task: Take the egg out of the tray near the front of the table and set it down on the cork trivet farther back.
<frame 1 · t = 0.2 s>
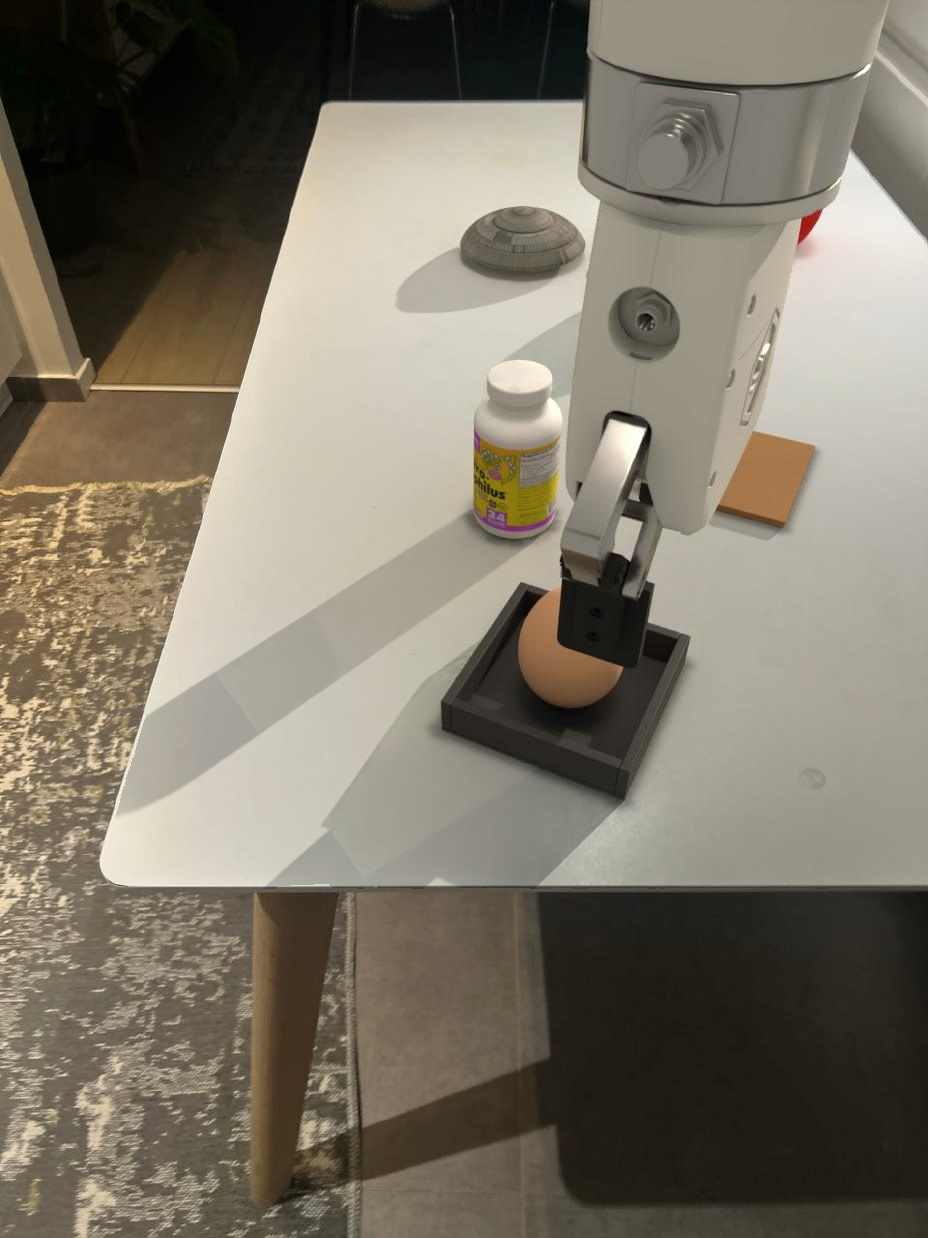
hand: (638, 575, 38), 21 cm above the table, tool pointing down, fingers open, 9 cm apart
trivet: (728, 469, 79), on the table
tray: (566, 695, 61), on the table
tomato: (766, 247, 113), on the table
flying saucer: (522, 256, 111), on the table
egg: (566, 694, 61), resting on tray
supplement bottle: (514, 518, 75), on the table
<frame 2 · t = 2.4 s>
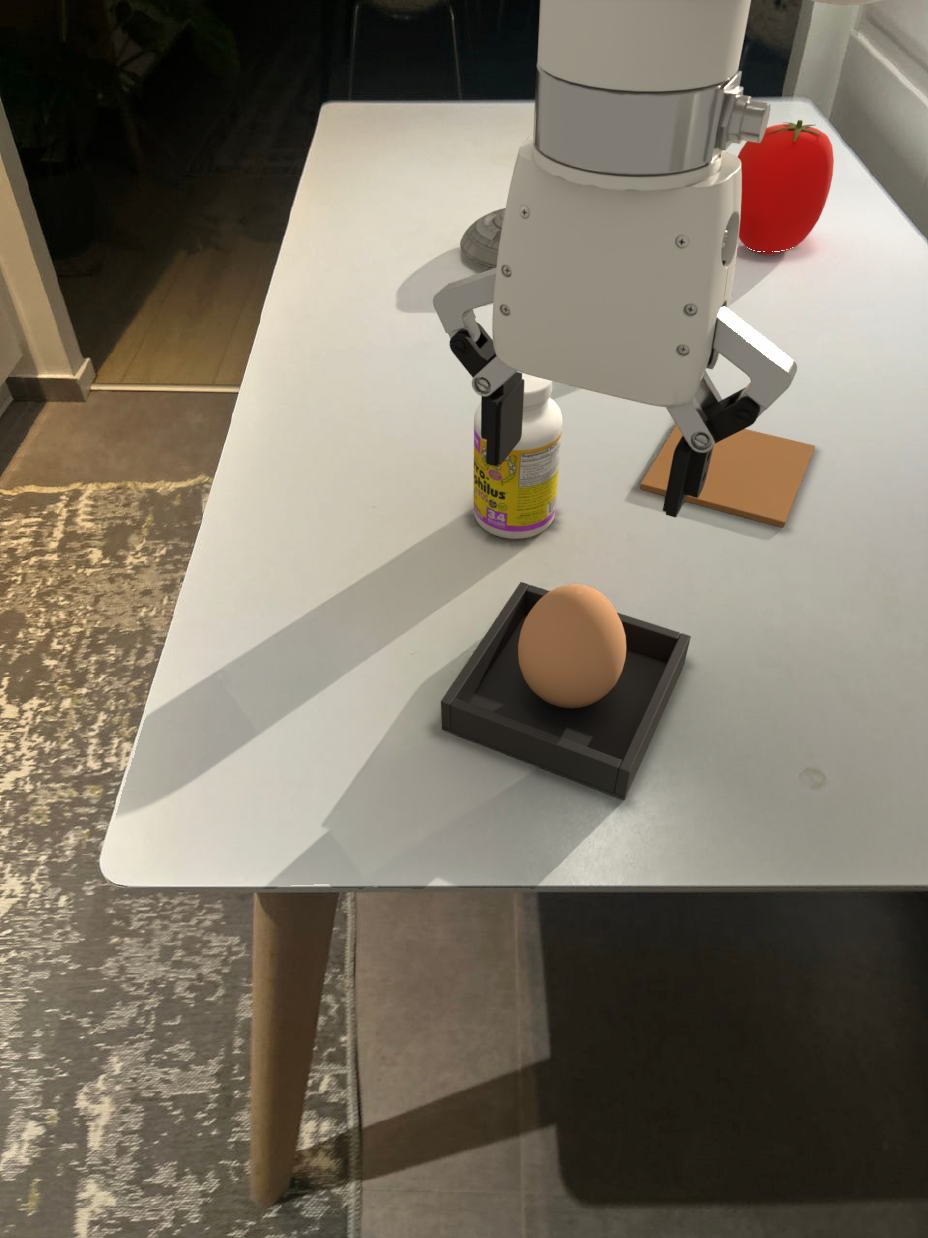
hand: (588, 475, 48), 18 cm above the table, tool pointing down, fingers open, 9 cm apart
nothing on the table moved.
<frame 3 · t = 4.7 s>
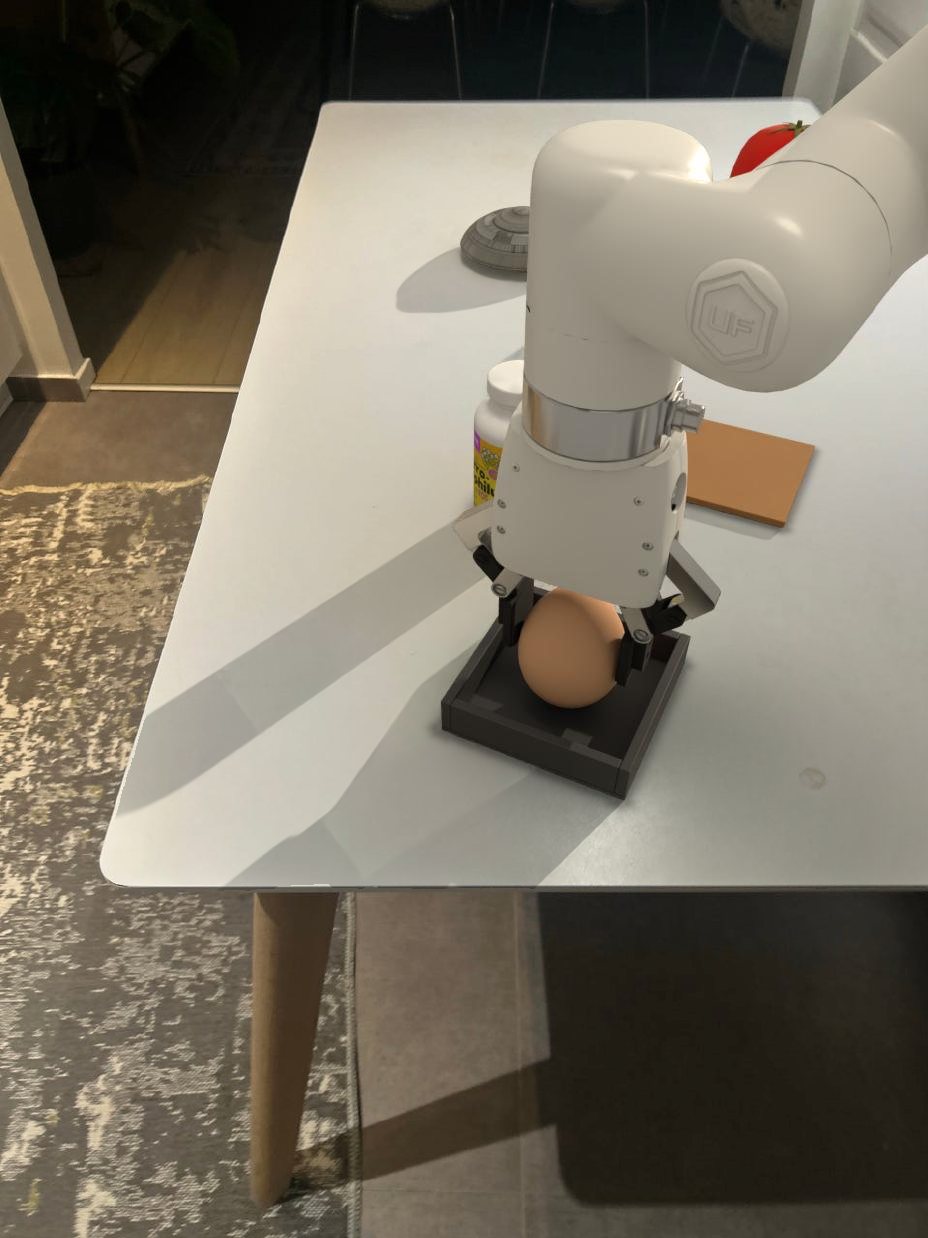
hand: (571, 649, 58), 4 cm above the table, tool pointing down, fingers closed on egg, 6 cm apart
egg: (566, 694, 61), resting on tray, touching gripper
everything else where it was.
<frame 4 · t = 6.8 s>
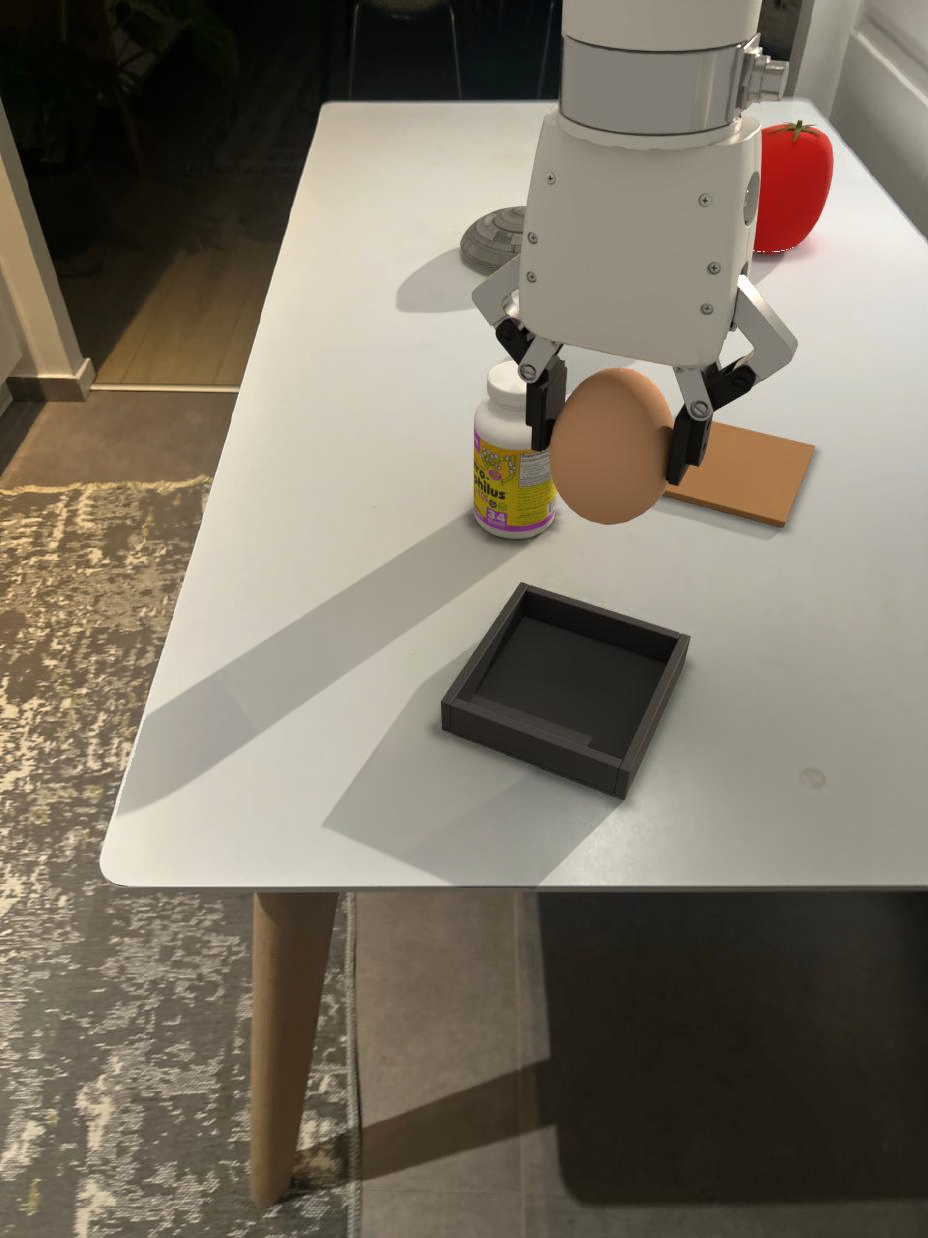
hand: (612, 452, 49), 18 cm above the table, tool pointing down, fingers closed on egg, 6 cm apart
egg: (605, 517, 52), point 14 cm above the table, touching gripper
everything else where it was.
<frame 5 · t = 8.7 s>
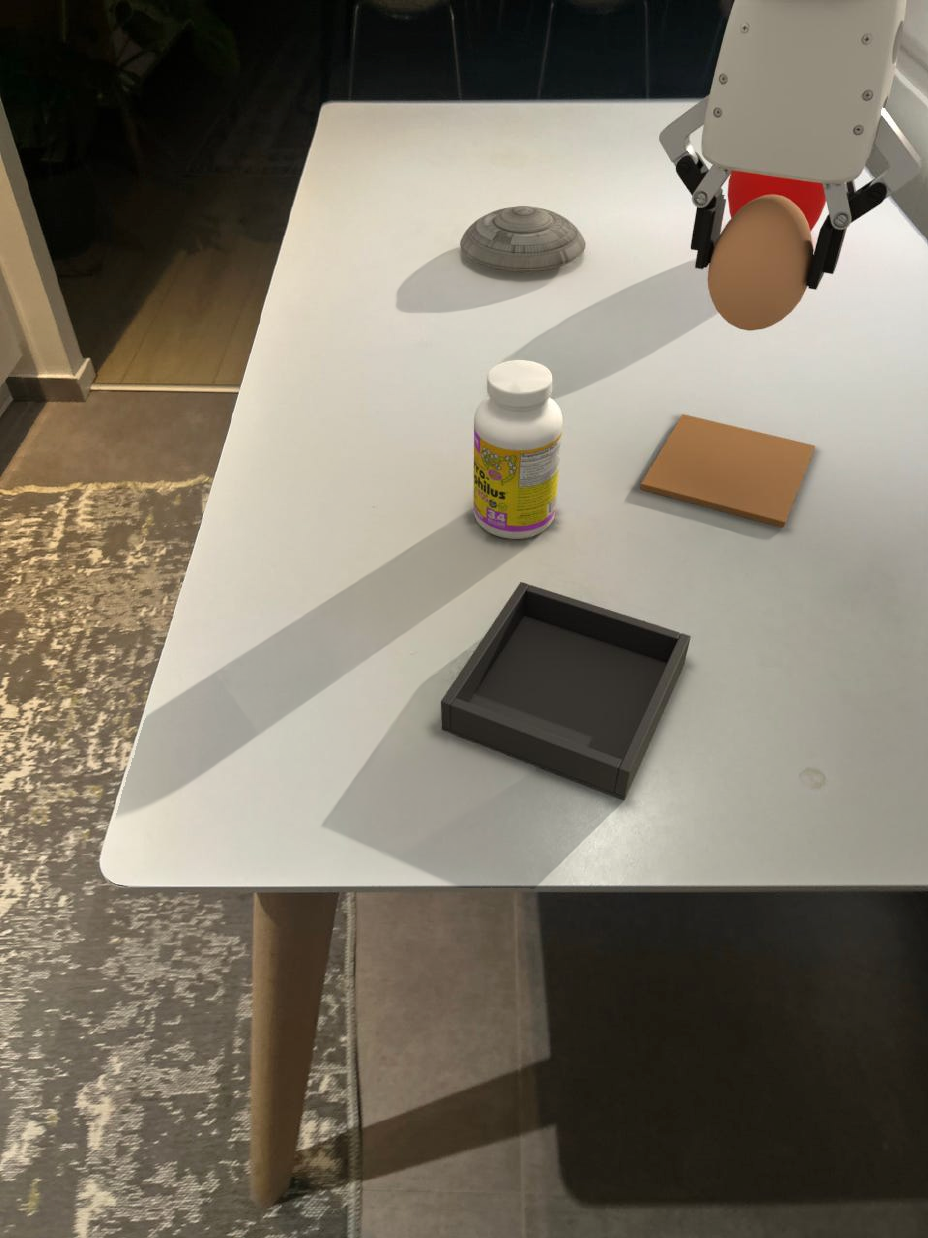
hand: (759, 268, 63), 20 cm above the table, tool pointing down, fingers closed on egg, 6 cm apart
egg: (746, 328, 66), point 15 cm above the table, touching gripper
everything else where it was.
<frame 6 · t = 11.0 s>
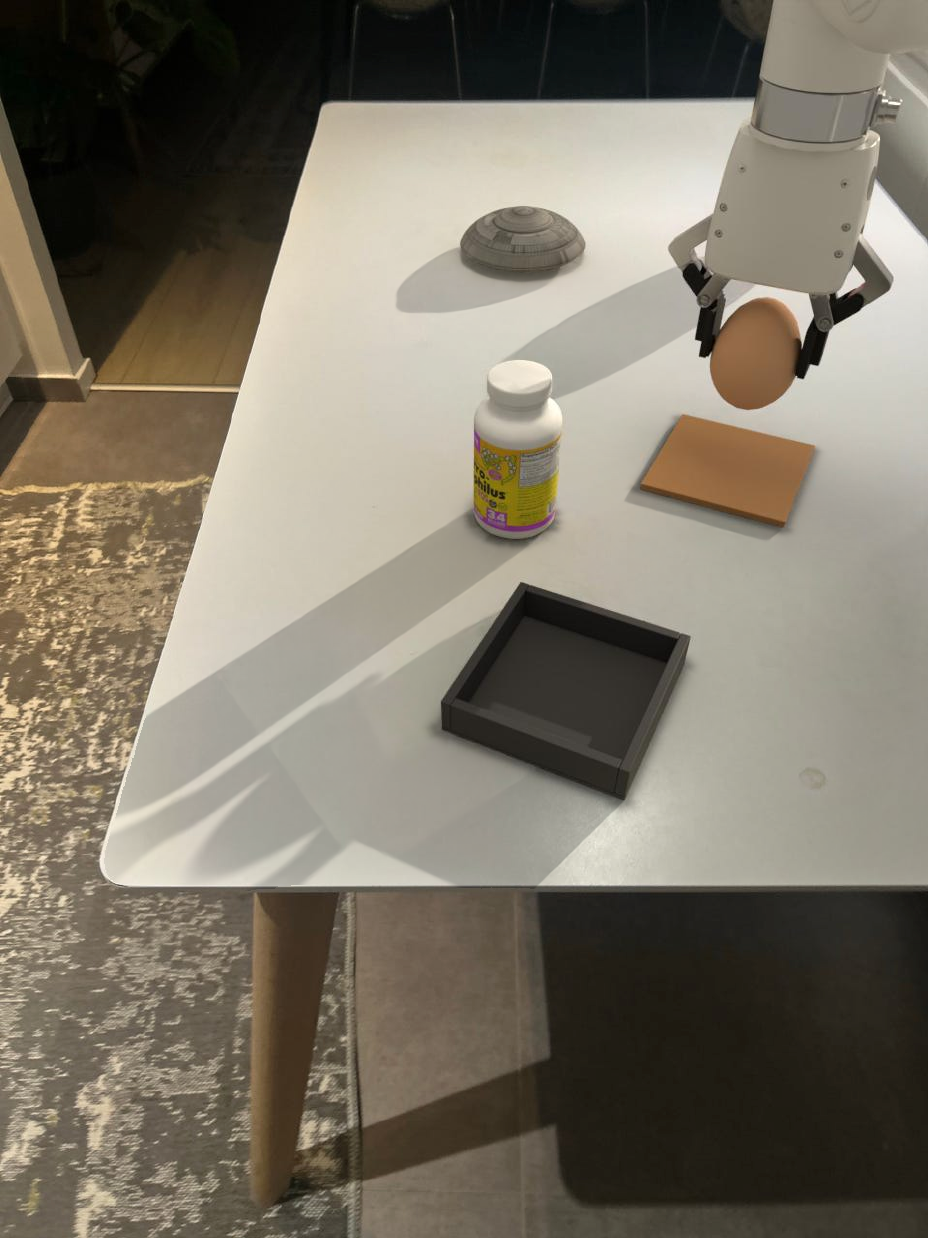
hand: (754, 358, 72), 11 cm above the table, tool pointing down, fingers closed on egg, 6 cm apart
egg: (743, 407, 75), point 6 cm above the table, touching gripper
everything else where it was.
when the fingers open (5 cm above the table, at t = 12.9 s): egg stays where it is, resting on trivet.
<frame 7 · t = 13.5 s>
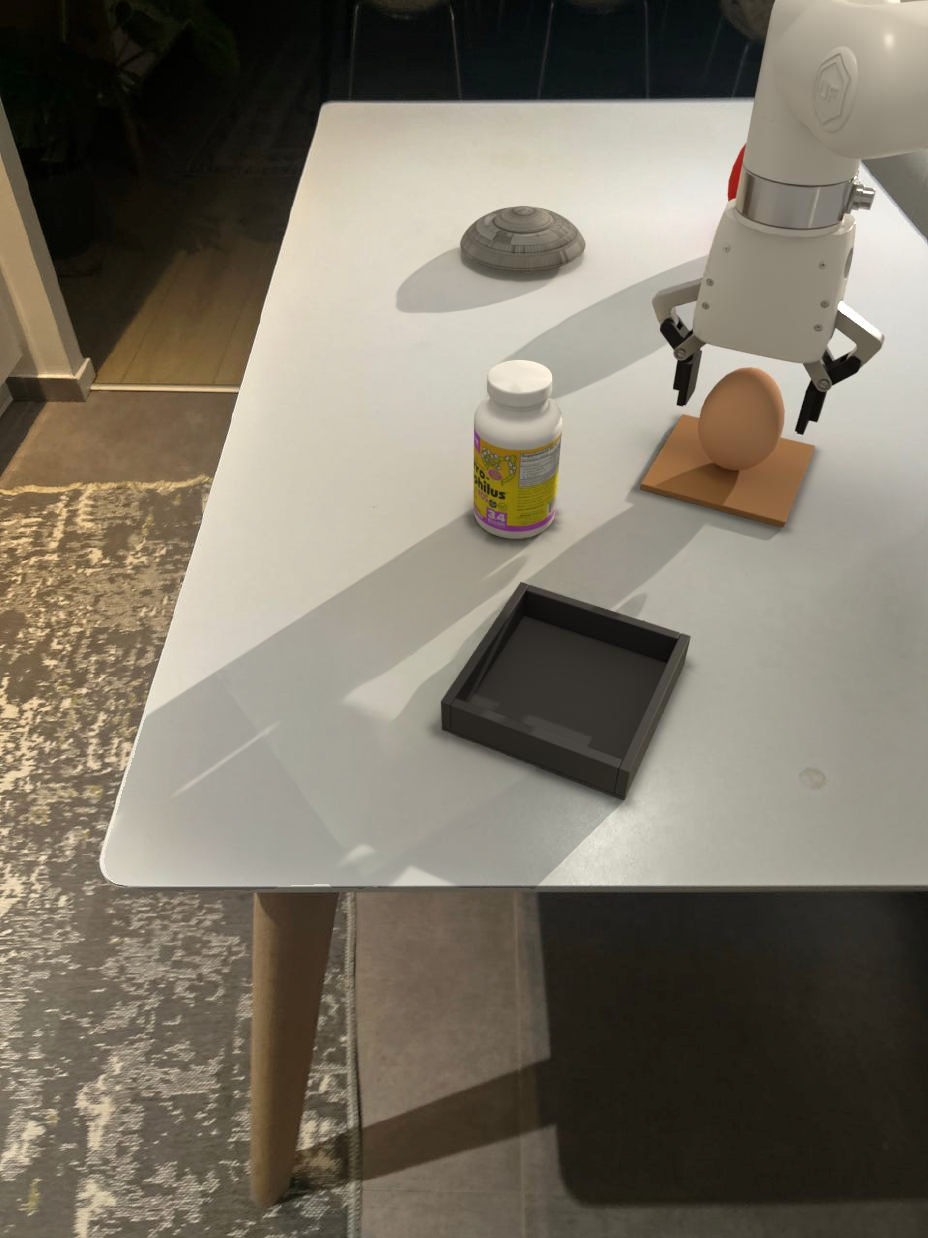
hand: (742, 411, 75), 6 cm above the table, tool pointing down, fingers open, 9 cm apart
egg: (730, 466, 79), resting on trivet
everything else where it was.
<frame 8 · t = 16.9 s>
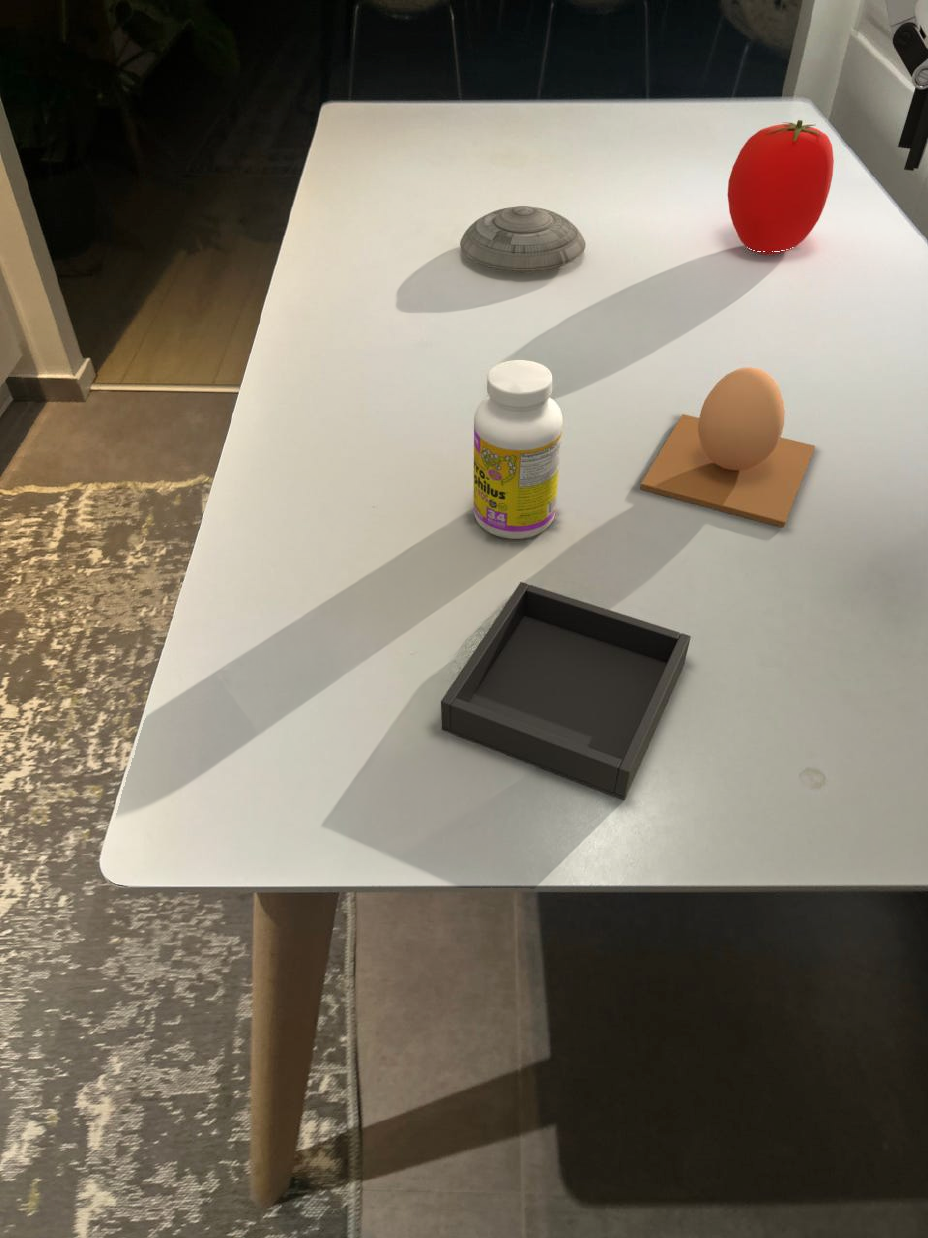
nothing on the table moved.
at the end: egg inside the target area on the trivet (0.1 cm from its centre), point 0.4 cm above the trivet's base; egg touching trivet; the gripper is holding nothing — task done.
